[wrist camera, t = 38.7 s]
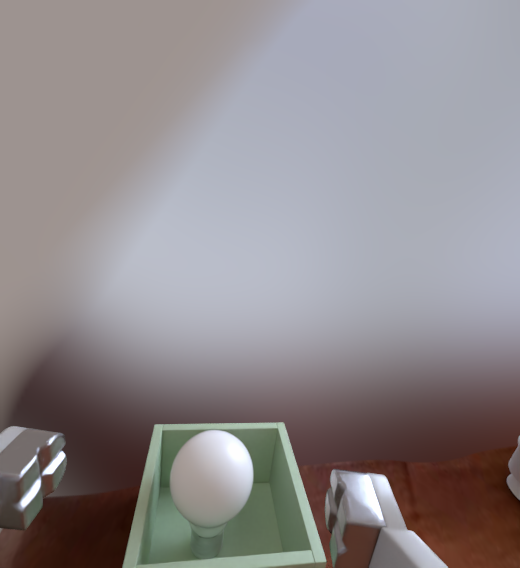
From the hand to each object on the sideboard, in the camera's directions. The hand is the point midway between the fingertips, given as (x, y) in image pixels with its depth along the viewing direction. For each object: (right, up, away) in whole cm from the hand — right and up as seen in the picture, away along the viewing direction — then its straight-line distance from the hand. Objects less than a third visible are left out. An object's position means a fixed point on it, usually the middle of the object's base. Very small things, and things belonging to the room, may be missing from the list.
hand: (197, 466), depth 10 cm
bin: (-2, -18, +18) cm, 25 cm away
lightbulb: (-3, -17, +17) cm, 24 cm away
